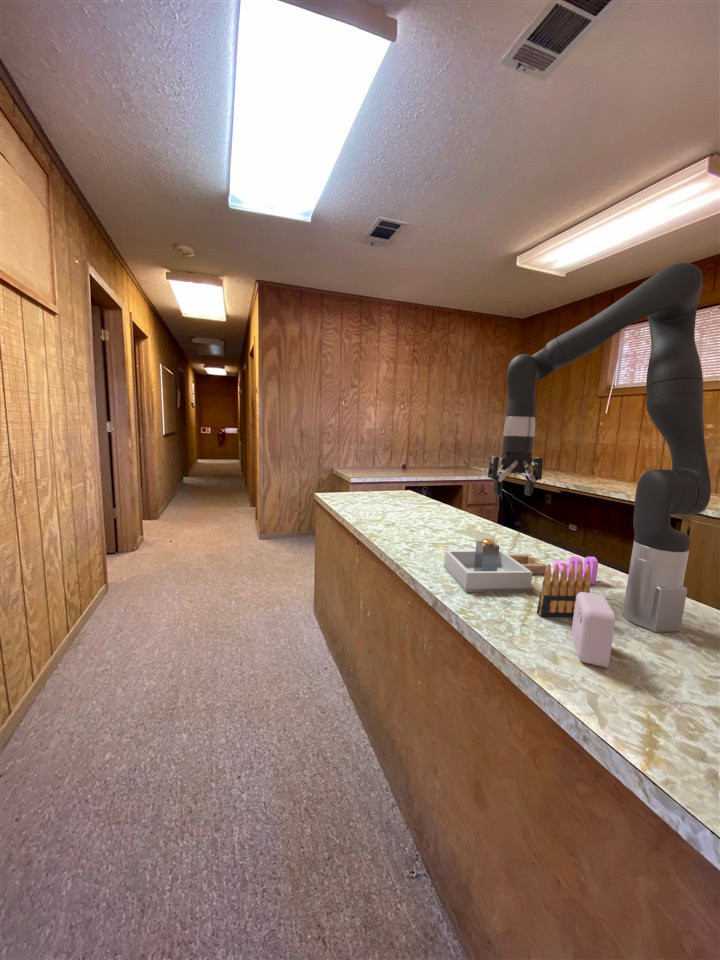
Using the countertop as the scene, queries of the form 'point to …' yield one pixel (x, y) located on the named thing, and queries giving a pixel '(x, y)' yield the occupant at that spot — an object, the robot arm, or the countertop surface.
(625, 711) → the countertop surface
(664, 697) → the countertop surface
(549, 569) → the ammunition clip
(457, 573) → the bin
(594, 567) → the pink humped piece
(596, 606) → the electronic device
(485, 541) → the grey upright block
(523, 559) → the socket block
